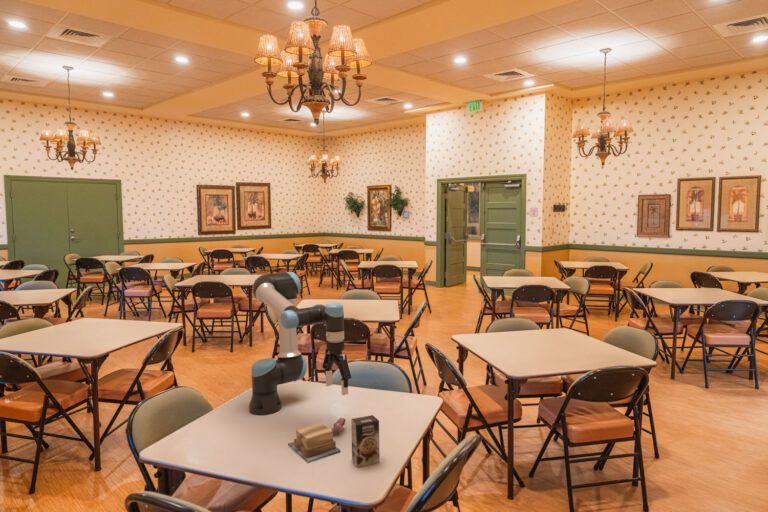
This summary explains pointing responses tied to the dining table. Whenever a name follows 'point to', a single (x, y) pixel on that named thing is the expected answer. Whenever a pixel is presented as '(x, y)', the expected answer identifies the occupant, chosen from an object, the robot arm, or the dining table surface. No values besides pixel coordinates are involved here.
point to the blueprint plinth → (314, 442)
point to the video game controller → (338, 426)
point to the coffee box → (365, 440)
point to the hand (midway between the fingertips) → (336, 390)
